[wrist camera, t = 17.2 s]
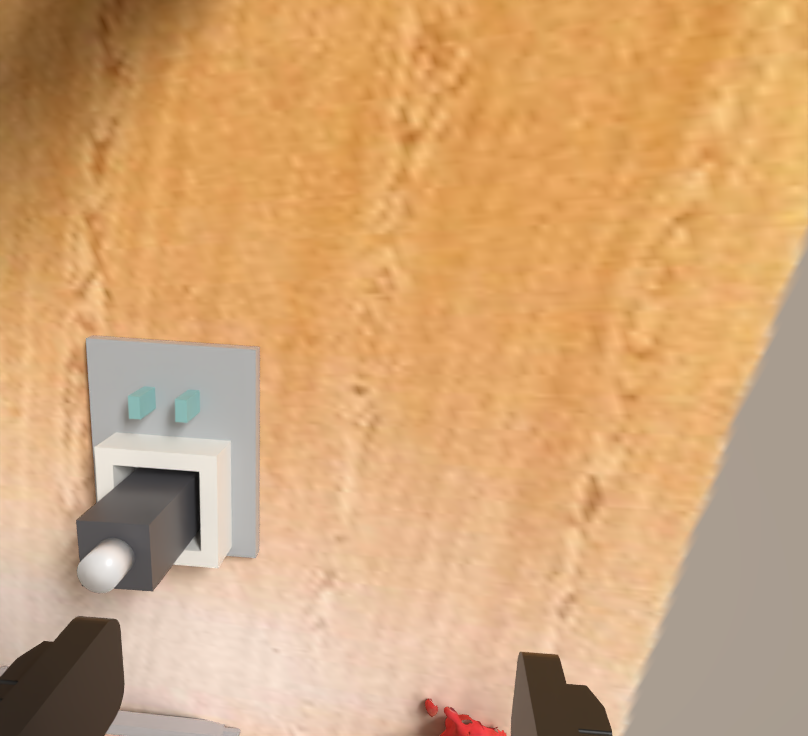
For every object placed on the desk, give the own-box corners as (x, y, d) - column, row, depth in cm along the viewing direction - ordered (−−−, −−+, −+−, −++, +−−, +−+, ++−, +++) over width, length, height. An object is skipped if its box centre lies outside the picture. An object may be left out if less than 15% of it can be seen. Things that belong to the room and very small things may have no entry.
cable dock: (93, 335, 46) (61, 347, 42) (259, 346, 45) (242, 359, 41) (105, 538, 50) (77, 566, 46) (259, 551, 49) (243, 580, 45)
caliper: (2, 673, 53) (-54, 732, 47) (3, 662, 53) (-53, 720, 47) (239, 736, 54) (213, 803, 48) (242, 725, 53) (216, 792, 47)
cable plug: (144, 462, 47) (56, 536, 36) (203, 466, 46) (133, 542, 36) (147, 517, 48) (63, 605, 37) (205, 521, 48) (137, 611, 37)
